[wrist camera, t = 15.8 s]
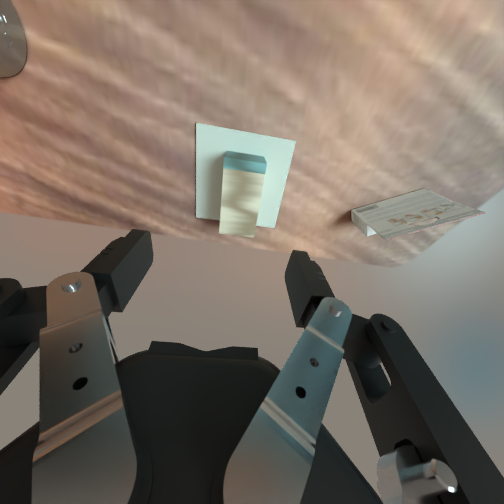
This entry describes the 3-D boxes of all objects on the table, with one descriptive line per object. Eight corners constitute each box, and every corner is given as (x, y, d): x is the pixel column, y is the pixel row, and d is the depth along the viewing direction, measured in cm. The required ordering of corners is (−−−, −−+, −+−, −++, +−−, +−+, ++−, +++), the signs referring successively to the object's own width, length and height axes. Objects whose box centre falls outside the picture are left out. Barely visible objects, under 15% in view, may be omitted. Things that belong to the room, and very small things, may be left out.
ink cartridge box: (422, 201, 32) (481, 230, 24) (350, 221, 34) (383, 255, 26) (424, 186, 31) (488, 212, 23) (350, 208, 32) (384, 239, 24)
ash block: (253, 222, 33) (264, 156, 27) (254, 237, 29) (267, 163, 23) (222, 218, 32) (227, 150, 27) (219, 233, 28) (224, 157, 23)
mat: (196, 216, 33) (195, 217, 32) (196, 122, 25) (196, 122, 25) (274, 227, 34) (274, 227, 34) (295, 140, 27) (295, 141, 26)
